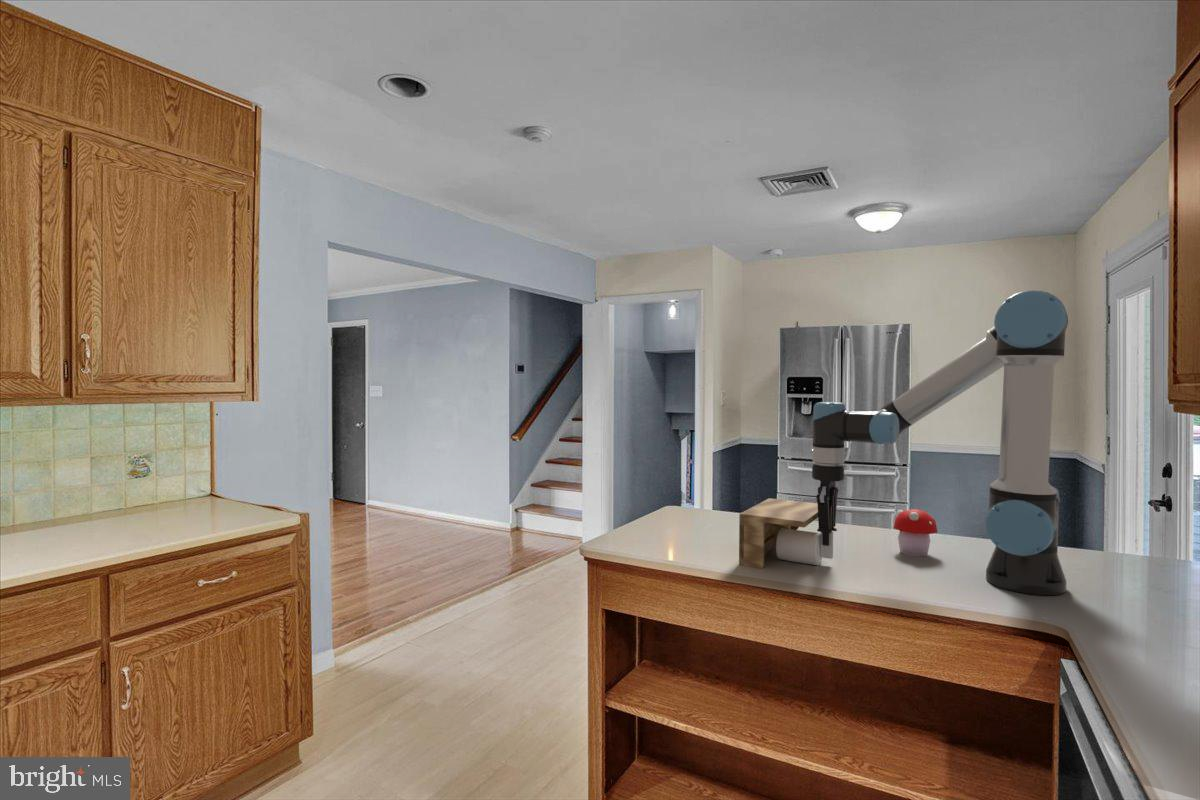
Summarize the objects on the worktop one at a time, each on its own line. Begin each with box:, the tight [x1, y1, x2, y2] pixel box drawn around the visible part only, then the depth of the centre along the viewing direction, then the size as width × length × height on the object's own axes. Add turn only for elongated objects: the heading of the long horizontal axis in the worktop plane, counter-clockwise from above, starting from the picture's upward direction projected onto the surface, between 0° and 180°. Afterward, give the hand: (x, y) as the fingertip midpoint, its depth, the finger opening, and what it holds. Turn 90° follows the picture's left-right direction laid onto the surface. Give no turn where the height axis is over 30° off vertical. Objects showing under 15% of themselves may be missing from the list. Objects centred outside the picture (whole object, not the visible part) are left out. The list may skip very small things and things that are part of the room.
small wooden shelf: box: [738, 498, 818, 569], centre depth 162 cm, size 16×24×13 cm, turn 147°
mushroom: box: [893, 508, 938, 557], centre depth 167 cm, size 11×11×12 cm
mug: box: [775, 528, 823, 566], centre depth 161 cm, size 12×10×8 cm
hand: (826, 557), depth 157 cm, fingers closed
